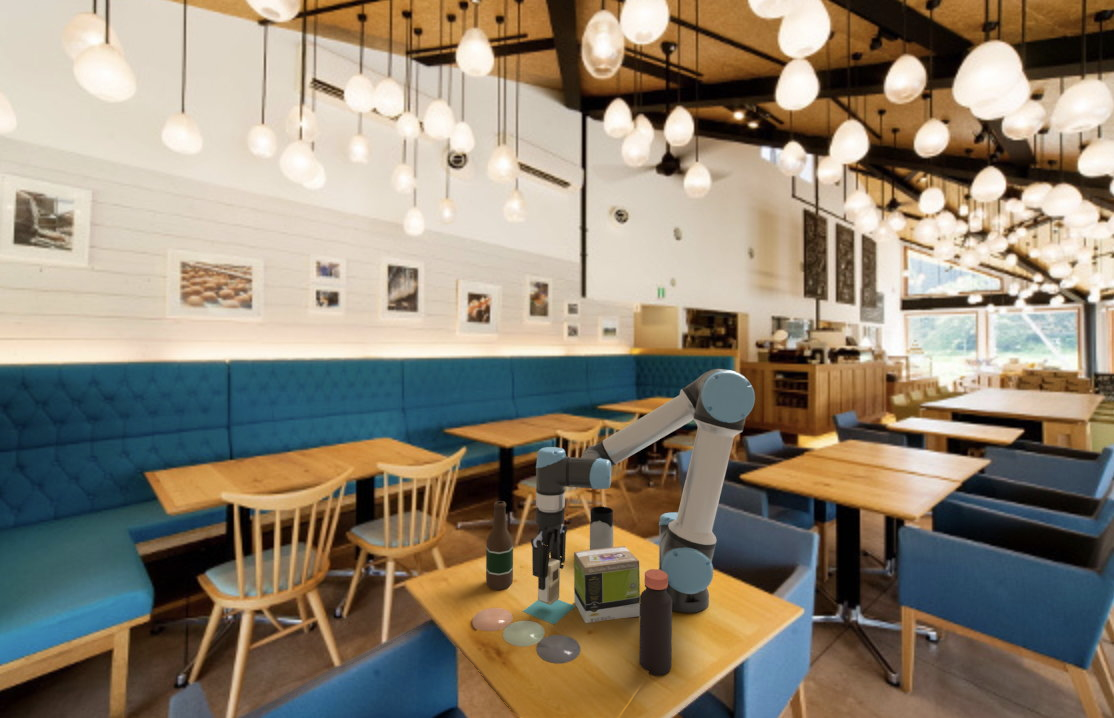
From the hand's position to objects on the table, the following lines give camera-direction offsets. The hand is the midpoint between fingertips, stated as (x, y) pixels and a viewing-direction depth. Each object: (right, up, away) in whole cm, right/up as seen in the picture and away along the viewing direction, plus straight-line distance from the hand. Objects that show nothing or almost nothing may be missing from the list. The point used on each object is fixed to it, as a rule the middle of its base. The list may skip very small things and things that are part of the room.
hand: (548, 596), depth 120 cm
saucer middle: (-6, -4, -10) cm, 13 cm away
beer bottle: (-15, -4, +14) cm, 20 cm away
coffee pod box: (+15, -4, 0) cm, 16 cm away
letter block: (0, -1, 0) cm, 1 cm away
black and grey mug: (+18, -4, +36) cm, 41 cm away
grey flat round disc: (+2, -4, -16) cm, 17 cm away
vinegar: (+23, -5, -21) cm, 32 cm away
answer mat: (0, -4, 0) cm, 4 cm away
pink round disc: (-14, -4, -5) cm, 15 cm away
